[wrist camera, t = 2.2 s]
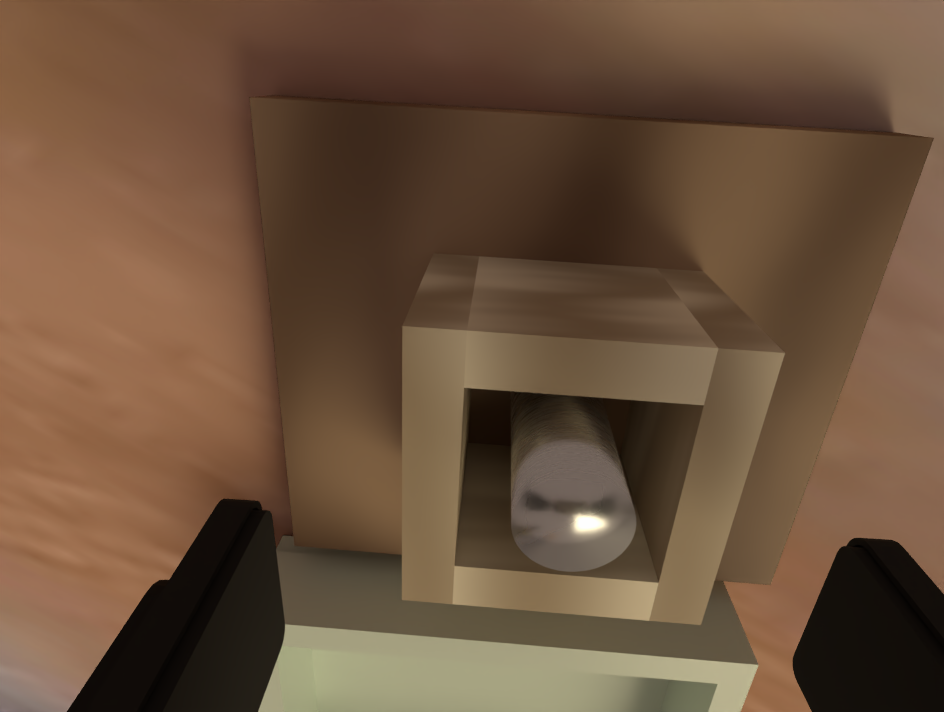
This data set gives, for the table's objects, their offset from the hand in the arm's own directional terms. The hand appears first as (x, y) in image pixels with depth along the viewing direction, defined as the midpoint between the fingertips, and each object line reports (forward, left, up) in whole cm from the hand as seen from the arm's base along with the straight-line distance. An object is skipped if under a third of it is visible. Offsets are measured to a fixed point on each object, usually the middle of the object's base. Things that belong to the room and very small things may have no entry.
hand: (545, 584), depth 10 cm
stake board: (-1, 0, -9) cm, 9 cm away
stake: (-1, 0, -8) cm, 8 cm away
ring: (-1, 0, -8) cm, 8 cm away
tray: (0, +14, -9) cm, 17 cm away
